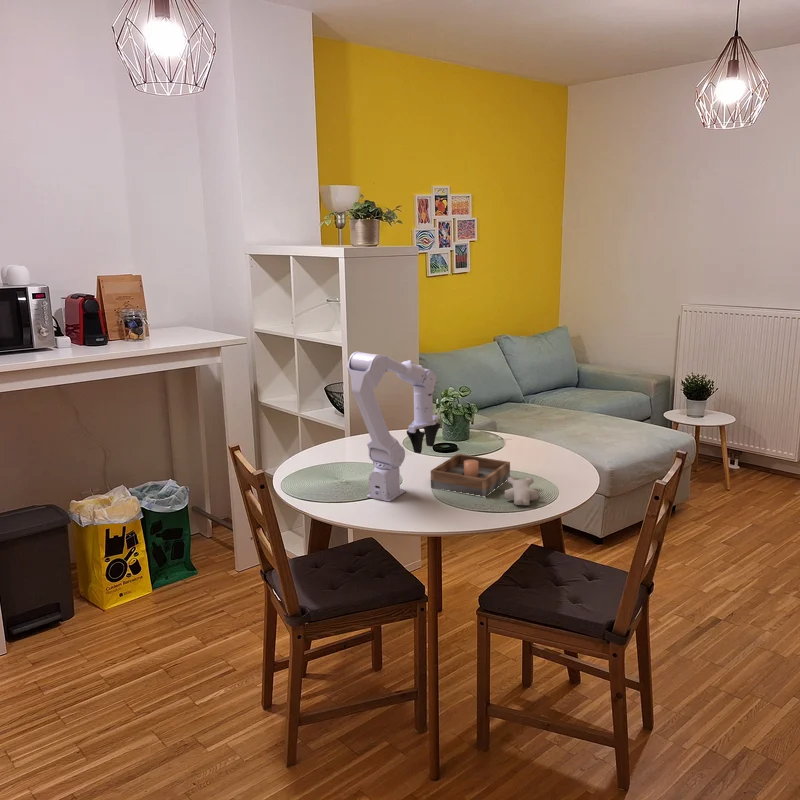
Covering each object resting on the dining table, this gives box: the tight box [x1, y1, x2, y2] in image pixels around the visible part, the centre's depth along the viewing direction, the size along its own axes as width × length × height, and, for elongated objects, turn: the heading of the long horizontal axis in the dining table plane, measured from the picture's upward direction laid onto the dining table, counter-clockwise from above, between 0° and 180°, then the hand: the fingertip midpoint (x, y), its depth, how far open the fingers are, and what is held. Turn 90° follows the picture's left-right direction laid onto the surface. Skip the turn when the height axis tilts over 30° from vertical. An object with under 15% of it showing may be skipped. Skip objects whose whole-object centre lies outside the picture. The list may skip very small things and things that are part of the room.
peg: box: [464, 459, 478, 478], centre depth 222 cm, size 4×4×7 cm
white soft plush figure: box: [504, 476, 539, 506], centre depth 210 cm, size 10×5×15 cm
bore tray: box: [430, 453, 511, 498], centre depth 223 cm, size 18×18×6 cm
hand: (424, 449), depth 227 cm, fingers open, 7 cm apart
